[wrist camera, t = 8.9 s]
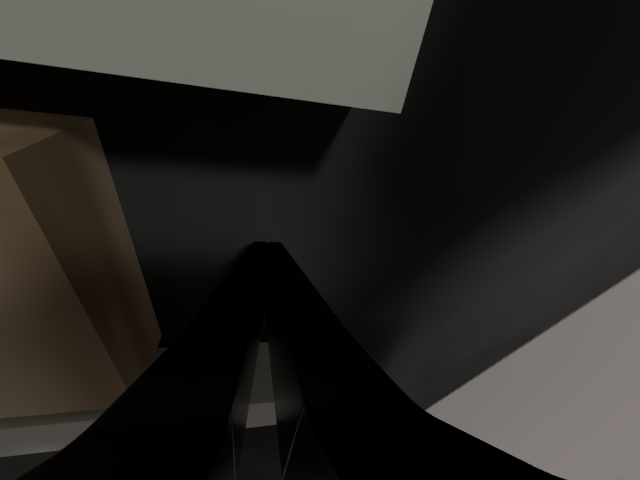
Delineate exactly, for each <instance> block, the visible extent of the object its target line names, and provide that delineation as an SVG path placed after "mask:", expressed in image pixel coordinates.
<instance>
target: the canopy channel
mask: <svg viewBox="0 0 640 480" xmlns="http://www.w3.org/2000/svg"><path fill="white" fill-rule="evenodd" d="M433 1H434V0H0V59H5V60H12V61H19V62H27V63H34V64H41V65H49V66H56V67H63V68H71V69H78V70H85V71H92V72H100V73H107V74H114V75H122V76H129V77H136V78H144V79H151V80H158V81H166V82H173V83H180V84H188V85H195V86H202V87H210V88H217V89H224V90H232V91H239V92H246V93H253V94H261V95H268V96H275V97H283V98H290V99H297V100H305V101H312V102H319V103H327V104H334V105H341V106H349V107H356V108H363V109H371V110H378V111H385V112H393V113H400V114H401V111H402V107H403V104H404V100H405V97H406V93H407V90H408V87H409V83H410V80H411V76H412V73H413V69H414V66H415V63H416V59H417V56H418V52H419V49H420V45H421V42H422V38H423V35H424V32H425V28H426V25H427V21H428V18H429V14H430V11H431V8H432V4H433ZM167 348H168V347H165V348H157V350H156V353H155V356H154V359H153V362H154V361H155V360H156V359H157V358H158V357H159V356H160V355H161V354H162V353H163V352H164V351H165V350H166V349H167ZM153 362H152V363H153ZM105 410H106V409H99V410H88V411H77V412H66V413H55V414H45V415H34V416H23V417H12V418H2V419H0V457H6V456H14V455H23V454H31V453H40V452H48V451H57V450H62V449H63V448H64V447H65V446H67V445H68V444H69V443H71V442H72V441H73V440H74V439H76V438H77V437H78V436H79V435H80V434H81V433H82V432H84V431H85V430H86V429H87V428H88V427H89V426H90V425H91V424H92V423H93V422H94V421H95V420H96V419H97V418H98V417H99V416H100V415H101V414H102V413H103V412H104V411H105ZM269 425H277V423H276V414H275V404H274V395H273V385H272V375H271V366H270V356H269V347H268V342H260V343H259V349H258V355H257V361H256V367H255V373H254V379H253V385H252V391H251V397H250V403H249V410H248V416H247V422H246V428H252V427H260V426H269Z"/></svg>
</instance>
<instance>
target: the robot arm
mask: <svg viewBox="0 0 640 480" xmlns="http://www.w3.org/2000/svg"><path fill="white" fill-rule="evenodd" d="M264 310H265V318H266V328H267V337H268V347H269V356H270V366H271V375H272V385H273V395H274V404H275V414H276V423H277V433H278V442H279V452H280V461H281V471H282V479H283V480H566V479H563V478H560V477H557V476H554V475H552V474H550V473H547V472H545V471H543V470H541V469H538V468H536V467H534V466H532V465H530V464H528V463H526V462H524V461H522V460H520V459H518V458H516V457H514V456H512V455H510V454H508V453H506V452H504V451H502V450H500V449H498V448H496V447H494V446H492V445H490V444H488V443H486V442H484V441H482V440H480V439H478V438H476V437H474V436H472V435H470V434H467V433H466V432H464V431H462V430H459V429H458V428H456V427H454V426H452V425H450V424H447V423H445V422H444V421H442V420H439V419H438V418H435V417H434V416H432V415H431V414H429V413H428V412H426V411H425V410H423V409H422V408H421V407H419V406H418V405H417V404H416V403H415V402H414V401H412V400H411V399H410V398H409V397H408V396H407V395H406V394H405V393H404V392H403V391H402V390H401V389H400V388H399V387H398V386H397V384H396V383H395V382H394V381H393V380H392V379H391V378H390V377H389V376H388V375H387V374H386V373H385V372H384V371H383V370H382V369H381V367H380V366H379V365H378V364H377V363H376V362H375V361H374V360H373V359H372V358H371V357H370V356H369V355H368V354H367V353H366V351H365V350H364V349H363V348H362V347H361V346H360V345H359V344H358V343H357V341H356V340H355V339H354V338H353V337H352V336H351V334H350V333H349V332H348V331H347V329H346V328H345V327H344V326H343V324H342V323H341V322H340V320H339V319H338V318H337V316H336V315H335V314H333V311H332V310H331V308H330V307H329V306H328V304H327V303H326V302H325V300H324V299H323V298H322V296H321V295H320V294H319V292H318V291H317V290H316V288H315V287H314V286H313V284H312V283H311V282H310V280H309V279H308V278H307V276H306V275H305V274H304V272H303V271H302V270H301V268H300V267H299V266H298V264H297V263H296V262H295V260H294V259H293V258H292V256H291V255H290V254H289V252H288V251H287V250H286V248H285V247H284V246H283V244H282V243H280V242H269V243H268V245H267V242H257V241H256V242H253V243H252V244H251V246H250V247H249V248H248V249H247V251H246V252H245V253H244V254H243V256H242V257H241V258H240V259H239V261H238V262H237V263H236V264H235V266H234V267H233V268H232V269H231V271H230V272H229V273H228V274H227V276H226V277H225V278H224V279H223V281H222V282H221V283H220V284H219V286H218V287H217V288H216V289H215V291H214V292H213V293H212V294H211V296H210V297H209V298H208V299H207V301H206V302H205V303H204V304H203V306H202V307H201V308H200V309H199V311H198V312H197V313H196V316H194V317H193V318H192V319H191V320H190V322H189V323H188V324H187V325H186V327H185V328H184V329H183V330H182V331H181V333H180V334H179V335H178V336H177V337H176V338H175V340H174V341H173V342H172V343H171V344H170V345H169V346H168V348H167V349H166V350H165V351H164V352H163V353H162V354H161V355H160V356H159V357H158V358H157V359H156V360H155V361H154V362H153V363H152V364H151V365H150V366H149V367H148V368H147V369H146V370H145V371H144V372H143V373H142V374H141V375H140V376H139V377H138V378H137V379H136V380H135V381H134V382H133V383H132V384H131V385H130V386H129V387H128V388H127V389H126V390H125V391H124V392H123V393H122V394H121V395H120V396H119V397H118V398H117V399H116V400H115V401H114V402H113V403H112V404H111V405H110V406H109V407H108V408H107V409H106V410H105V411H104V412H103V413H102V414H101V415H100V416H99V417H98V418H97V419H96V420H95V421H94V422H93V423H92V424H91V425H90V426H89V427H88V428H87V429H86V430H85V431H84V432H82V433H81V434H80V435H79V436H78V437H77V438H76V439H74V440H73V441H72V442H71V443H69V444H68V445H67V446H65V447H64V448H63V449H62V450H60V451H59V452H57V453H56V454H55V455H53V456H52V457H50V458H49V459H47V460H46V461H44V462H42V463H41V464H39V465H38V466H36V467H34V468H33V469H31V470H29V471H28V472H26V473H24V474H23V475H21V476H19V477H18V478H16V479H14V480H237V476H238V470H239V464H240V458H241V452H242V446H243V440H244V434H245V428H246V422H247V416H248V410H249V403H250V397H251V391H252V385H253V379H254V373H255V367H256V361H257V355H258V349H259V343H260V337H261V330H262V324H263V318H264Z"/></svg>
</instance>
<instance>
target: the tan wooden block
mask: <svg viewBox="0 0 640 480" xmlns="http://www.w3.org/2000/svg"><path fill="white" fill-rule="evenodd" d="M161 337H162V334H161V331H160V328H159V325H158V322H157V319H156V316H155V312H154V309H153V306H152V303H151V300H150V297H149V293H148V290H147V287H146V284H145V281H144V278H143V274H142V271H141V268H140V265H139V262H138V259H137V256H136V252H135V249H134V246H133V243H132V240H131V237H130V233H129V230H128V227H127V224H126V221H125V218H124V214H123V211H122V208H121V205H120V202H119V199H118V196H117V192H116V189H115V186H114V183H113V180H112V177H111V173H110V170H109V167H108V164H107V161H106V158H105V155H104V151H103V148H102V145H101V142H100V139H99V136H98V132H97V129H96V126H95V123H94V120H93V118H90V117H81V116H71V115H61V114H51V113H42V112H32V111H22V110H12V109H2V108H0V419H2V418H12V417H23V416H34V415H45V414H55V413H66V412H77V411H88V410H99V409H107V408H108V407H109V406H110V405H111V404H112V403H113V402H114V401H115V400H116V399H117V398H118V397H119V396H120V395H121V394H122V393H123V392H124V391H125V390H126V389H127V388H128V387H129V386H130V385H131V384H132V383H133V382H134V381H135V380H136V379H137V378H138V377H139V376H140V375H141V374H142V373H143V372H144V371H145V370H146V369H147V368H148V367H149V366H150V365H151V364H152V362H153V359H154V356H155V353H156V350H157V348H158V345H159V342H160V339H161Z"/></svg>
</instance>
